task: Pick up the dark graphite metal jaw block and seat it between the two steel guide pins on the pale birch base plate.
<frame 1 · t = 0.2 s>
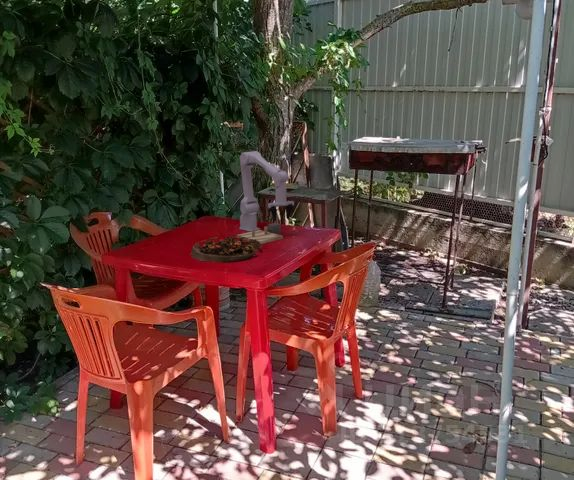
hand: (281, 219, 312), 10 cm above the table, tool pointing down, fingers open, 7 cm apart
jaw block: (274, 233, 324), on the table
base plate: (259, 238, 313), on the table
food dish: (226, 254, 287), on the table
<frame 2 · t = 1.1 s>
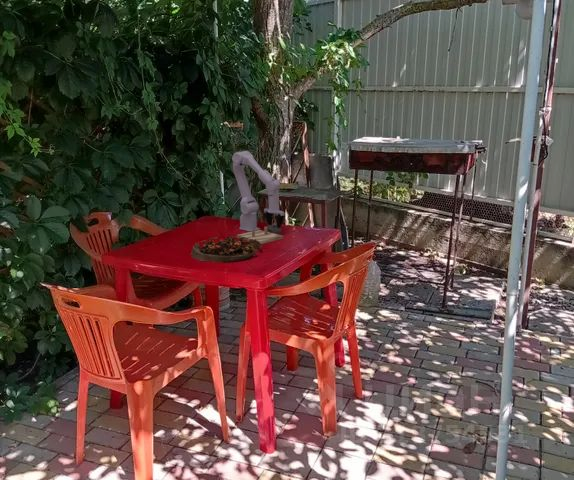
hand: (274, 226, 323), 4 cm above the table, tool pointing down, fingers open, 7 cm apart
nothing on the table moved.
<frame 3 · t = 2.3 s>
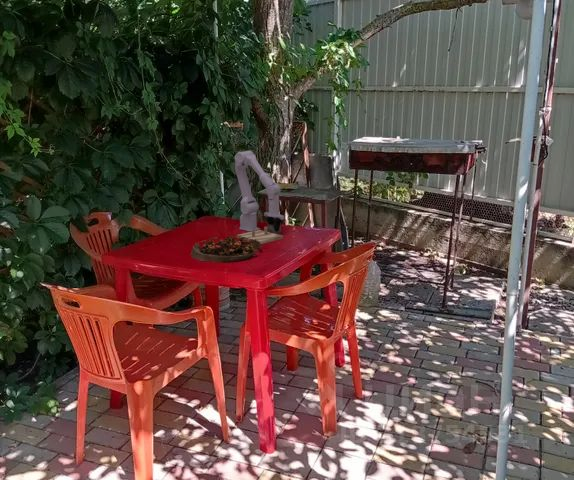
hand: (274, 230, 323), 1 cm above the table, tool pointing down, fingers closed on jaw block, 4 cm apart
jaw block: (274, 232, 324), on the table, touching gripper
everything else where it was.
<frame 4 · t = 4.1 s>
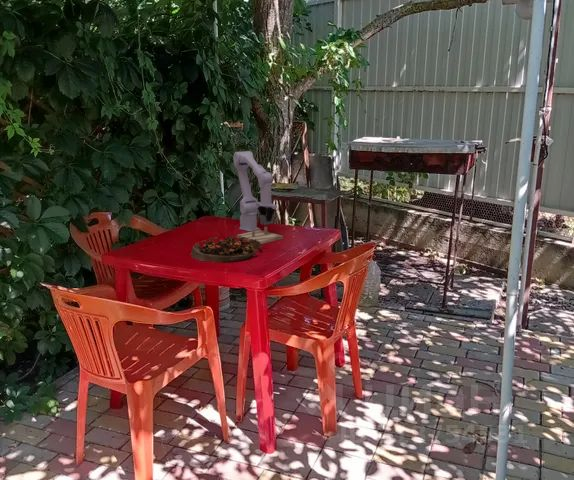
hand: (266, 220, 316), 8 cm above the table, tool pointing down, fingers closed on jaw block, 4 cm apart
jaw block: (267, 223, 317), point 7 cm above the table, touching gripper
everything else where it was.
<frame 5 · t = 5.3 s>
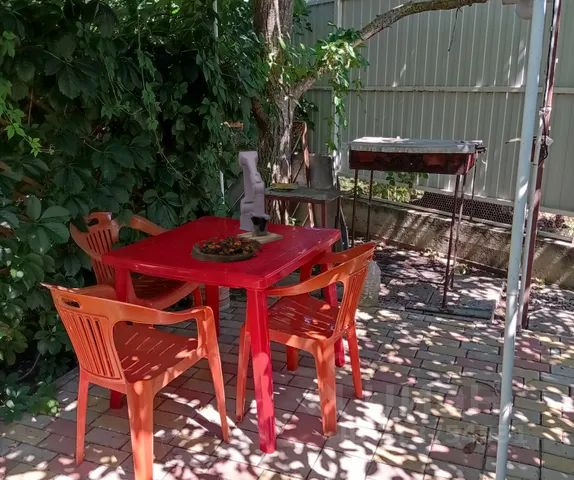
hand: (259, 230, 312), 4 cm above the table, tool pointing down, fingers closed on jaw block, 4 cm apart
jaw block: (260, 233, 313), point 2 cm above the table, touching gripper
everything else where it was.
when the fingers open (4 cm above the table, at t = 6.1 s): jaw block stays where it is, resting on base plate.
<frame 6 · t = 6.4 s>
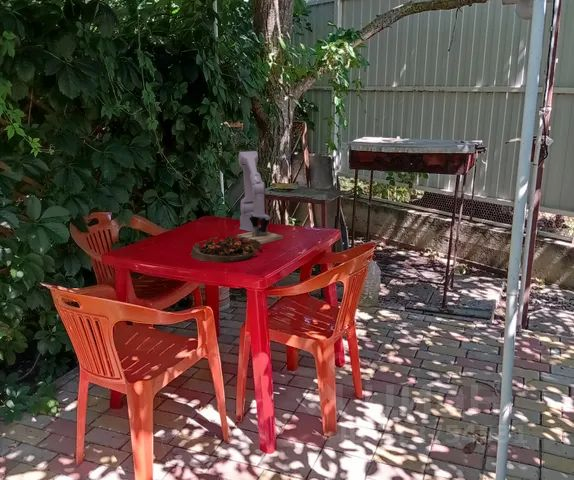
hand: (259, 231, 312), 4 cm above the table, tool pointing down, fingers open, 6 cm apart
jaw block: (260, 235, 313), point 1 cm above the table, touching base plate
everything else where it was.
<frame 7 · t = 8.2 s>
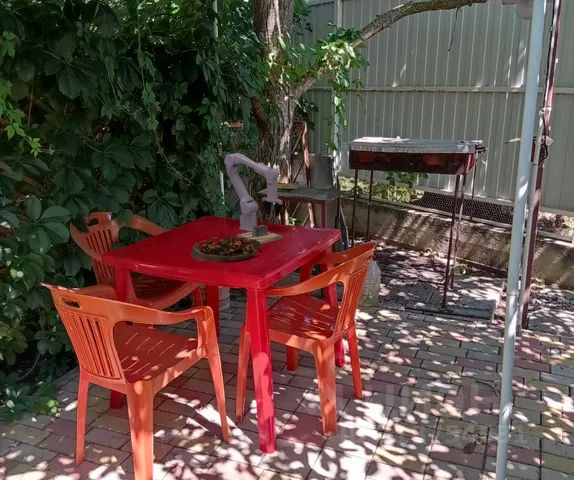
hand: (272, 215, 324), 9 cm above the table, tool pointing down, fingers open, 7 cm apart
nothing on the table moved.
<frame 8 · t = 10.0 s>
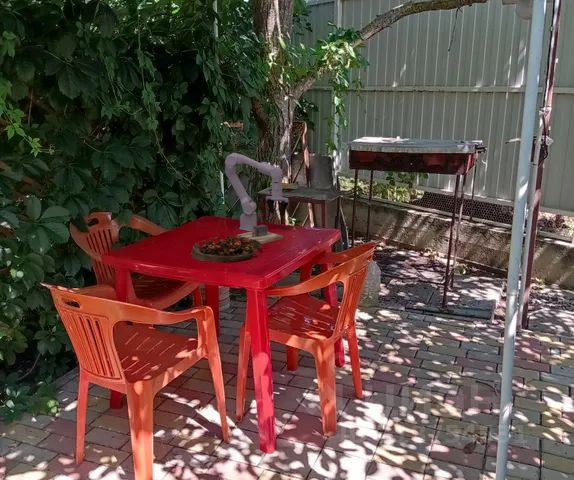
hand: (277, 213, 328), 9 cm above the table, tool pointing down, fingers open, 7 cm apart
nothing on the table moved.
at the end: jaw block 0.4 cm off-centre on the base plate, point 1.5 cm above the base plate's base; jaw block tilted 0°; the gripper is holding nothing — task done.
